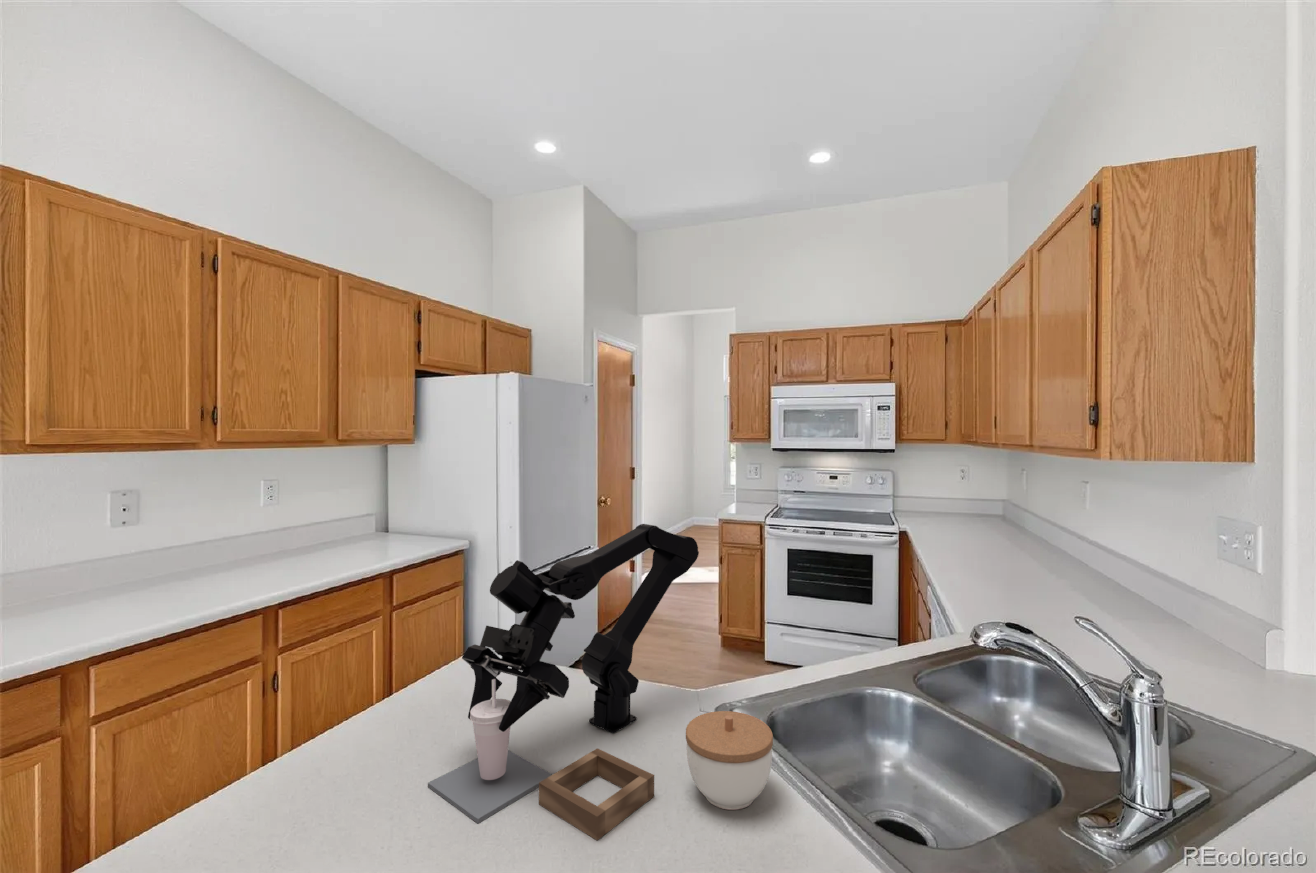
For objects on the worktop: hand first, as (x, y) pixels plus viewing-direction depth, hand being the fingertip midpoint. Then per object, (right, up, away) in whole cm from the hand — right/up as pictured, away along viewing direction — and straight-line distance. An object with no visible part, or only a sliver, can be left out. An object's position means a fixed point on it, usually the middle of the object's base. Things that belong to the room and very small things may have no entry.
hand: (485, 724), depth 82 cm
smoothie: (+1, -8, +1) cm, 8 cm away
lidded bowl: (+36, -9, -2) cm, 37 cm away
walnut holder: (+17, -9, -3) cm, 20 cm away
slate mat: (+1, -9, +1) cm, 9 cm away
